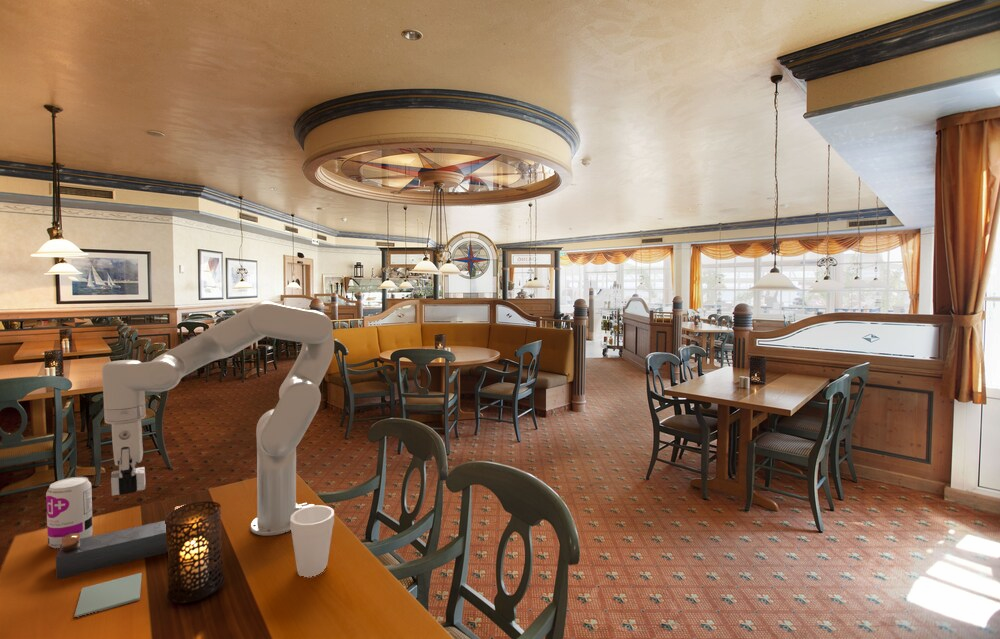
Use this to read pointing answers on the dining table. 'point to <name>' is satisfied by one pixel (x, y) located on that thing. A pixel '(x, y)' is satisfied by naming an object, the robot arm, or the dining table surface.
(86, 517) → the supplement can
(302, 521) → the foam cup
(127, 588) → the mat
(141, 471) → the lever cap
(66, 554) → the hand plane
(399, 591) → the dining table surface
